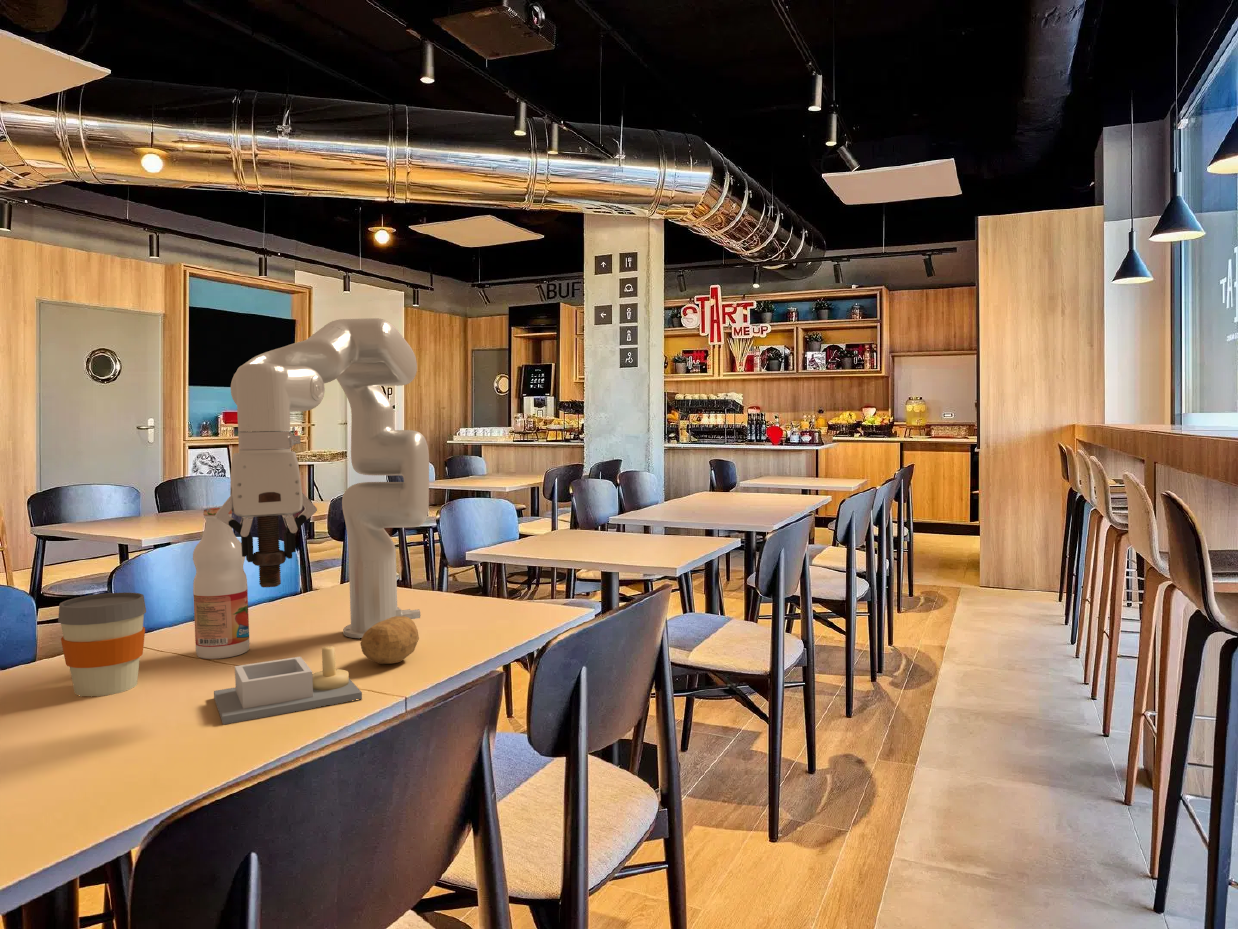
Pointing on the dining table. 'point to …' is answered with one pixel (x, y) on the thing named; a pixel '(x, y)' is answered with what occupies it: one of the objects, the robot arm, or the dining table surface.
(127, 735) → the dining table surface
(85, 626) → the reusable coffee cup
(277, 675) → the board
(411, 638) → the potato
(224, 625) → the fruit juice
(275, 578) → the bolt
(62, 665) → the dining table surface
